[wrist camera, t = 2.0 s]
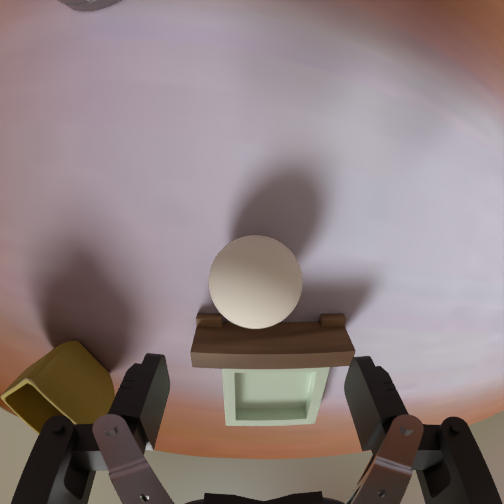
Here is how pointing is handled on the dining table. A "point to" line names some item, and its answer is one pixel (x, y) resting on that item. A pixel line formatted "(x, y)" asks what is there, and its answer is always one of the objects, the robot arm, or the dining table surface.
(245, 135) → the dining table surface
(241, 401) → the dish
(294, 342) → the rail
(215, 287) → the ball
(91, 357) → the flower pot
